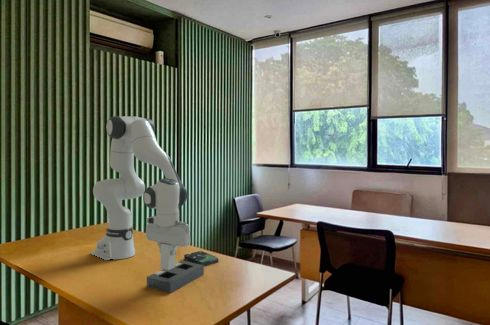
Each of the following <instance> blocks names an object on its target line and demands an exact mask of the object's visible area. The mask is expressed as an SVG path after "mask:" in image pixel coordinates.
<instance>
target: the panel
mask: <svg viewBox="0 0 490 325" xmlns="http://www.w3.org/2000/svg"><path fill="white" fill-rule="evenodd" d="M204 269H205V266H204V265H200V264H196V263H192V262H190V261H187V260H179V261H177V262H175V267H174V268H172V269H170V270H165V269H161V270H158V271H156V272H154V273H152V274H150V275H148V276H146V287H147V288H150V289H154V290H157V291H161V292H165V293H168V294H171V293H173V292H175V291H177V290H178V289H180V288H182V287H184V286H186V285H188V284H189V283H191V282H193V281H195V280H197V279H199V277H201V276H203V275H204V274H205V270H204Z"/></svg>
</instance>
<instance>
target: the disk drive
mask: <svg viewBox="0 0 490 325" xmlns="http://www.w3.org/2000/svg"><path fill="white" fill-rule="evenodd" d="M219 260H220V259H219V258H218V257H217V256H216V255H212V254H210V253H207V252H205V251H202V250H198V251H194V252H190V254H189V253H186V254H184V261H186V262H191V263H196V264H200V265H204V267H206V266H210V265H213V264H218V263H219Z"/></svg>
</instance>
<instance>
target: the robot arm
mask: <svg viewBox="0 0 490 325" xmlns="http://www.w3.org/2000/svg"><path fill="white" fill-rule="evenodd" d="M106 122H107V123H106V126H105V127H106V133H107V135H108V136H109V138H111V143H110V150H109V151H110V154H109V156H110V158H109V166H110V168H111V169H112V170H113V171H115V172H117V173H119V178H106V179H103V180H99V181H96V183H95V184H94V185H93V188H92V193H93V197H94V198H95V199H96V200H97V201H98V202H100V203H101V204H102V205H103V206H104V208H105V210H106V212H107V222H108V223H107V224H108V227H107V228H106V229H104V231H105V232H106V233H105V235H104V236H103V237H102V238H100V239H99V240H98V241H97V243H96V249H95V250H93V251H91V253H90V254H91V256H94V255H95V257H96V256H97V258H99V257H100V258H99V259H101V258H102V260H103V259H104V260H103V261H110V259H113V260H125V259H129V258H131V257H133V256H135V255H136V248H135V243H134V236H133V233H134V229H133V228H134V227H133V219H132V218H133V214H132V211H131V209H129V208H128V207H126V206H124V205H123V203H122V201H123V200H124V201H125V200H134V199H136V198H139V197H141V196H143V198H142V199H143V204H144V205H145V206H146V207H147V208H148V209H152V210H155V209H156V212H155V213H156V214H155V215H152V216H150V217H147V218H146V226H145V237H146V239H147V241H152V242H156V243H157V246H158V249H159V253H160V254H161V243H166V244H172V247H174V248H173V250H172V251H170V255H173V256H174V255H175V256H176V255H177V249H178V248H179V247H183V248H185V247H187V246H189V245H190V244H191V233H190V225H189V224H188V223H187V222H185V221H180V208H181V207H182V206H184V204H185V203H186V201H187V200H188V191H187V189H186V187H185V185H184V183H183V182H182V181H181V178H180V177H179V175H178V171H177V170H176V168H175V166H174V163H173V161H172V159H171V158H170V156H169V154H168V152H166V151H164V150H163V149H162V147H161V146H160V145H159V143H158V141H157V137H156V134H155V131H156V127H155V123H154V121H153V120H152V119H150V118H147V117H139V116H133V115H131V116H128V115H126V116H124V115H123V116H119V115H115V116H111V117H109V118H108V120H107V121H106ZM135 158H136V159H137V160H139V161H140V162H142V163H145V164H148V165H152V166H155V167H156V168H158V169H160V170H161V171H162V173H163V175H164V177H165V178H161V179H158V180H157V183H155V184H153V185H150V186H147V188H146V184H145V183H144V180H143V179H141V178H140V177H139V176H138V174H137V173H136V171H135V170H136V169H135Z"/></svg>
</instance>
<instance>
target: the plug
mask: <svg viewBox="0 0 490 325" xmlns="http://www.w3.org/2000/svg"><path fill="white" fill-rule="evenodd" d="M173 248H174V247H172V244H166V243H161V253H160V269H161V270H163V269H165V270H170V269H172V268H174V267H175V263H176V255H174V256H173V255H170V251H172V250H173Z"/></svg>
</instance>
